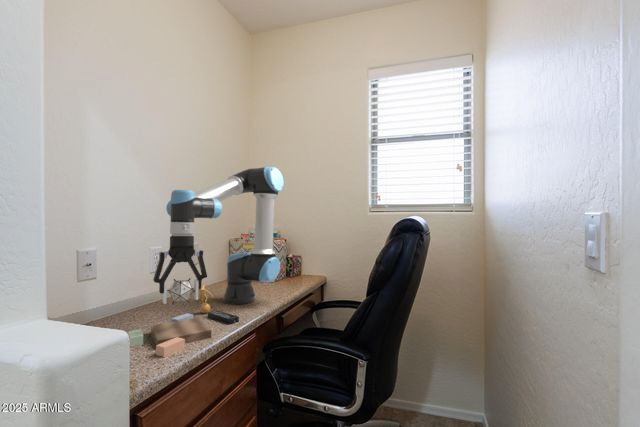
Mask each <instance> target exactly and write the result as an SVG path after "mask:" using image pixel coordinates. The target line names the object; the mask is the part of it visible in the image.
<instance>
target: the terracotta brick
mask: <svg viewBox="0 0 640 427" xmlns="http://www.w3.org/2000/svg"><path fill="white" fill-rule="evenodd" d="M185 346H186V343H185V339H182V338H178V337H176V338H174V339H171V340H169V341H166V342H164V343H161V344H158V345H156V344H155V347H156V348H155V349H156V350H155V356H158V355H159V356H158V357H161V356H162V358H166V357H169V356H170V354H171V355H172V354H175V353H178V352H179V351H182V350H184V349H185Z"/></svg>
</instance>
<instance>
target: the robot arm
mask: <svg viewBox="0 0 640 427" xmlns="http://www.w3.org/2000/svg"><path fill="white" fill-rule="evenodd" d="M284 184H285V183H284V177H283V174H282V173H281V171H280V170H279V169H278V168H277V167H274V166H266V167H257V168H256V167H255V168H248V169H247V168H246V169H245V170H242V171H239V172H237V173H235V174H233V175H230V176H228V178H227V179H226V180H223V181H221V182H219V183H216V184H214V185H210V186H209V187H206V188H204V189H201V190H199V191H196V192H195V191H194V190H190V189H189V190H188V189H174V190H172V192H171V194H170V200H169V201H168V202H167V204H166V213H167V214H168V215H169V217H170V223H169V224H170V225H169V234H170V236H169V249H168V251H159V252H158V256H159V259H158V263H157V266H156V269H155V273H154V276H153V278H152V279H153V282H154V283H155V284H159V290H158V291H159V293H160V295H162V304H164V305H167V301H168V300H167V295H168V294H167V293H168V291H167V290H168V283H167V282H166V281H167V278H168V277H169V275H170V274H171V272H172V270H173V268H174V267H175V266H176V263H177V264H178V263H179V264H181V263H187V264H188V265H189V267H190V269H191V271H192V273H193V274H194V276H195V278H196V279H194V283H193V286H194V287H193V288H194V290H195V292H193V293H194V294H193V299H194V300H196V301H197V300H199V291H198V289H201V287H202V280H203V279H206V278H208V274H207V273H208V272H207V270H206V265H205V261H204V257H203V256H204V250H202V249H201V250H200V249H198V250H197V249H195V236H194V234H195V219H216V218H219V217H220V216H221V215H222V212H223V205H222V203H221V201H224V200H225V199H228V198H231V197H232V196H234V195H235V196H239V195H242V194H246V193H253V194H252V195H253V196H254V198H256V199H255V201H256V202H255V218H254V219H255V220H254V221H255V223H254V241H253V242H254V245H253V250H252V251H251V252H239V253H233V254H229V255H228V256H227V263H226V264H227V265H226V266H227V271H226V272H227V276H226V279H227V280H226V281H227V284H226V285H227V286H226V287H225V290H224V294H223V300H222V302H223V303H225V304H227V305H228V304H229V305H244V304H245V305H246V304H250V303H253V302H254V301H256V292H255V290H254V287H253V282H259V283H271V282H273V281H275V280H276V278H277V277H278V275H279V274H280V269H281V262H280V260H279V257H278V258H277V256H276V255H277V254H276V252H275V250H274V249H273V247H274V244H273V243H274V223H275V222H274V220H275V201H276V198H278V197H279V192H280V191H282V190H283V188H284ZM194 255H195V256H196V257H197V261H198V264H199V269H200V272H199V270H198V267H196V264H195V263H194V260H193V259H192V257H193V256H194ZM168 256H169V257H170V258H171V259H170V261H169V263H168V265H167V267H166V268H165V270H164V271H163V274H162V270H163V267H164V263H165V259H167V258H168ZM161 274H162V275H161ZM160 276H161V277H160Z"/></svg>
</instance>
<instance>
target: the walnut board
mask: <svg viewBox="0 0 640 427" xmlns="http://www.w3.org/2000/svg"><path fill="white" fill-rule="evenodd" d="M150 335H151V336H152V339H153V341H154V344H155V346H156V345H158V344H161V343H164V342H166V341H169V340H171V339H174V338H176V337H178V338H182V339H185V344H188V343H192V342H197V341H202V340H207V339H211V338H212V329H211V328H210V327H209V326H208V324H206V323H205V322H204V320H202V319H201V318H200V317H193V319H187V320H181V321H176V322H165V323H160V324H153V325H150Z"/></svg>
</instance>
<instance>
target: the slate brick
mask: <svg viewBox="0 0 640 427" xmlns="http://www.w3.org/2000/svg"><path fill="white" fill-rule="evenodd" d="M193 318H194V314H192V313H189V312H188V313H184V314H181V315H177V316H175V317H171V319H170V321H171V322H176V321H181V320H187V319H193Z"/></svg>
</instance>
